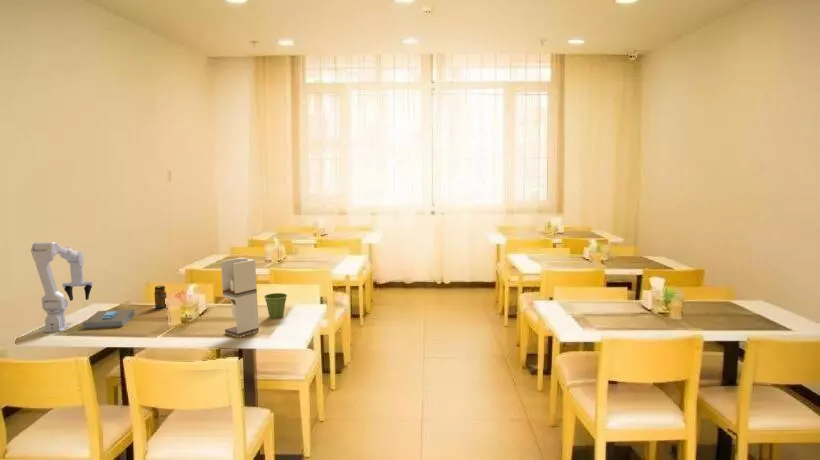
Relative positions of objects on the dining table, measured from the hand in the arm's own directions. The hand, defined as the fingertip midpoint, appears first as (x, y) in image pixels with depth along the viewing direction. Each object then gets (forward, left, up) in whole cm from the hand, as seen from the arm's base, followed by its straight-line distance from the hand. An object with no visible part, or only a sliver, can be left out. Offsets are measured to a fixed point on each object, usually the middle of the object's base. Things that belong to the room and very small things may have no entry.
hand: (79, 299), depth 315 cm
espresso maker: (-46, -87, -10) cm, 99 cm away
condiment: (+10, -38, -10) cm, 40 cm away
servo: (-12, -18, -10) cm, 23 cm away
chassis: (-12, -18, -9) cm, 24 cm away
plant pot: (-22, -102, -10) cm, 105 cm away
